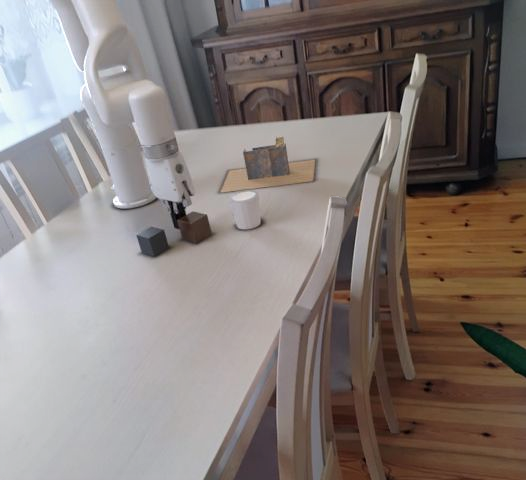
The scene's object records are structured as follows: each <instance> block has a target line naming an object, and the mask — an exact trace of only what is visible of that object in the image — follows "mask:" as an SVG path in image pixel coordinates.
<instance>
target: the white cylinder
mask: <svg viewBox="0 0 526 480" xmlns="http://www.w3.org/2000/svg"><path fill="white" fill-rule="evenodd" d="M228 201H229V205H230V208H231V211H232V215H233V217H234V218H233V219H234V221H235V224H236V227H237V228H238V229H239V230H252V229H255V228H257V227H259V226H260V225H261V223H262V222H261V221H262V220H261V210H260V197H259V192H258V191H257V190H253V189H245V190H239V191H236V192H234V193H233V194H231V195H230V196H229V197H228Z"/></svg>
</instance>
